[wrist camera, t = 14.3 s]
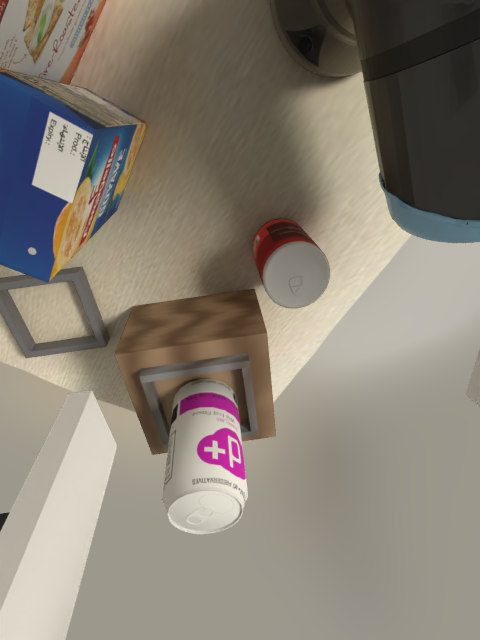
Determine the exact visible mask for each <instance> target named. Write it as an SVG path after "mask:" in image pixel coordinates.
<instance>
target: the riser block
mask: <svg viewBox="0 0 480 640" xmlns="http://www.w3.org/2000/svg"><path fill="white" fill-rule="evenodd" d="M115 358H116V360H117V363H118V366H119V368H120V371H121V373H122V376H123V379H124V381H125V384H126V387H127V389H128V392H129V395H130V397H131V400H132V402H133V405H134V408H135V410H136V413H137V416H138V418H139V421H140V423H141V426H142V429H143V431H144V434H145V437H146V439H147V442H148V444H149V447H150V450H151V452H152V454H153V455H154V454H161V453H168V444H169V436H170V427H171V418H172V409H173V402H174V397H175V395H176V393H177V392H178V391H179V389H180V388H181V387H183V386H184V385H186V384H187V383H189V382H192V381H196V380H199V379H214V380H217V381H221V382H223V383H225V384H226V385H228V386H229V387H231V388H232V390H233V391H234V393H235V394H236V396H237V404H238V412H239V421H240V430H241V439H242V441H248V440H254V439H261V438H268V437H274V436H276V429H275V418H274V408H273V395H272V384H271V372H270V361H269V350H268V338H267V331H266V328H265V324H264V321H263V317H262V314H261V310H260V307H259V303H258V300H257V296H256V293H255V289H251V290H244V291H237V292H230V293H223V294H216V295H209V296H202V297H195V298H188V299H181V300H174V301H167V302H160V303H152V304H145V305H138V306H133V308H132V310H131V313H130V316H129V318H128V321H127V323H126V326H125V329H124V331H123V334H122V337H121V339H120V342H119V344H118V347H117V350H116V352H115Z"/></svg>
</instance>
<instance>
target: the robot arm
mask: <svg viewBox="0 0 480 640" xmlns="http://www.w3.org/2000/svg"><path fill="white" fill-rule="evenodd" d="M270 5H271V12H272V16H273V20H274V24H275V27H276V30H277V32H278V35H279V37H280V39H281V41H282V43H283V45H284V47H285V48H286V50H287V51H288V52H289V54H290V55H291V56H292V57H293V58H294V60H295V61H297V62H298V63H299V64H300V65H301V66H302V67H304V68H305V69H307V70H309V71H311V72H313V73H315V74H318V75H321V76H326V77H343V76H348V75H352V74H355V73H358V72H361V71H362V72H363V78H364V86H365V92H366V97H367V103H368V108H369V114H370V119H371V125H372V130H373V136H374V141H375V146H376V152H377V157H378V163H379V168H380V173H379V182H380V185H381V187H382V189H383V191H384V193H385V196H386V200H387V205H388V209H389V212H390V215H391V217H392V219H393V220H394V221H395V222H396V223H397V224H398V226H400V227H401V228H402V229H403V230H404V231H406V232H408V233H410V234H412V235H414V236H417V237H420V238H423V239H427V240H432V241H438V242H448V243H473V242H480V0H270ZM466 394H467V395H468V397H470V399H471V400H472V401H473V402H474V403H475V404H476V405H477V406H478V407H479V408H480V350H479V353H478V356H477V360H476V363H475V366H474V370H473V373H472V376H471V379H470V382H469V386H468V389H467V392H466ZM116 448H117V445H116V443H115V440H114V438H113V436H112V433H111V431H110V429H109V427H108V425H107V423H106V420H105V418H104V416H103V414H102V412H101V409H100V407H99V405H98V403H97V400H96V398H95V396H94V394H93V391H92V390H90V391H83V392H76V393H70V394H68V396H67V398H66V400H65V402H64V404H63V406H62V408H61V410H60V412H59V414H58V416H57V418H56V420H55V422H54V424H53V426H52V428H51V430H50V432H49V434H48V436H47V439H46V440H45V443H44V444H43V446H42V448H41V450H40V452H39V455H38V457H37V459H36V461H35V463H34V465H33V467H32V469H31V471H30V473H29V475H28V477H27V479H26V481H25V483H24V485H23V487H22V489H21V491H20V493H19V495H18V497H17V499H16V501H15V503H14V506H13V507H12V509H11V511H10V512H9V513H3V514H0V640H65V639H66V635H67V631H68V628H69V624H70V620H71V617H72V613H73V609H74V605H75V602H76V598H77V594H78V590H79V587H80V583H81V579H82V575H83V572H84V568H85V564H86V560H87V556H88V553H89V549H90V545H91V541H92V538H93V534H94V530H95V527H96V523H97V519H98V516H99V512H100V508H101V504H102V501H103V497H104V493H105V489H106V486H107V481H108V478H109V474H110V471H111V467H112V463H113V459H114V456H115V452H116Z"/></svg>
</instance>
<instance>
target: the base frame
mask: <svg viewBox="0 0 480 640" xmlns="http://www.w3.org/2000/svg"><path fill="white" fill-rule="evenodd" d="M72 280H73V282H74V285H75V287H76V290H77V292H78V295H79V297H80V300H81V302H82V305H83V307H84V310H85V312H86V315H87V317H88V320H89V322H90V325H91V327H92V330H93V332H94V334H95V336H88V337H82V338H75V339H68V340H61V341H54V342H47V343H40V344H35V342H34V340H33V338H32V336H31V334H30V333H29V331H28V329H27V327H26V325H25V323H24V321H23V319H22V317H21V315H20V313H19V311H18V309H17V307H16V306H15V304H14V302H13V300H12V298H11V296H10V294H9V292H8V289H15V288H22V287H29V286H37V285H44V284H51V283H58V282H65V281H72ZM0 312H1V314H2V316H3V318H4V319H5V321H6V323H7V325H8V327H9V328H10V330H11V332H12V334H13V336H14V338H15V339H16V341H17V343H18V345H19V347H20V348H21V350H22V352H23V354H24V356H25V358H31V357H38V356H45V355H52V354H59V353H66V352H72V351H79V350H86V349H93V348H100V347H106V346H107V344H108V342H109V336H108V333H107V331H106V328H105V325H104V323H103V320H102V318H101V315H100V312H99V310H98V307H97V304H96V302H95V299H94V296H93V294H92V291H91V288H90V286H89V283H88V280H87V278H86V275H85V272H84V270H83V267H76V268H69V269H62V270H60V271H59V272H58V273H57V274H56V275H55V276H54V277H53V278H52V279H51V280H50V281H49V283H47V282H44V281H42V280H39V279H36V278H34V277H31V276H29V275H19V276H12V277H5V278H0Z"/></svg>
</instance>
